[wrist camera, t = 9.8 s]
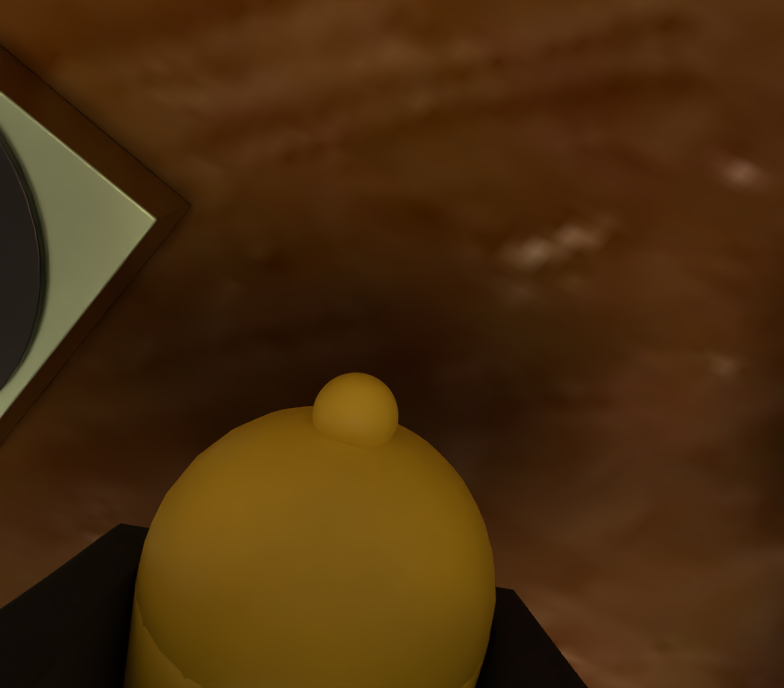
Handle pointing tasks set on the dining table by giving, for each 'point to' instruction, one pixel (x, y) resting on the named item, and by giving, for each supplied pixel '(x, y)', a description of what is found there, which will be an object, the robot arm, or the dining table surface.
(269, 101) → the dining table surface
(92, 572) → the robot arm
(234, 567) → the lemon
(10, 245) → the burner
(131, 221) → the hob
